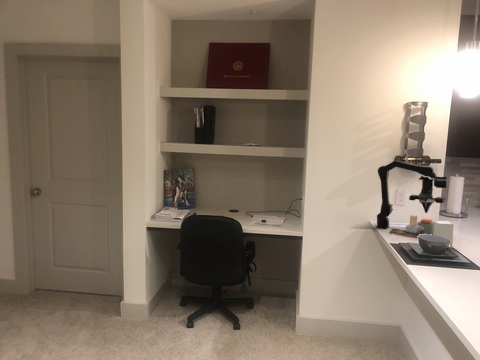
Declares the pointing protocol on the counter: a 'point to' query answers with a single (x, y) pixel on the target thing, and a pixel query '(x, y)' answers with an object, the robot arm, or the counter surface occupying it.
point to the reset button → (426, 221)
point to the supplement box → (444, 229)
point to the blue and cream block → (413, 225)
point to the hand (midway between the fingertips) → (426, 212)
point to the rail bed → (405, 232)
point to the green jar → (427, 227)
